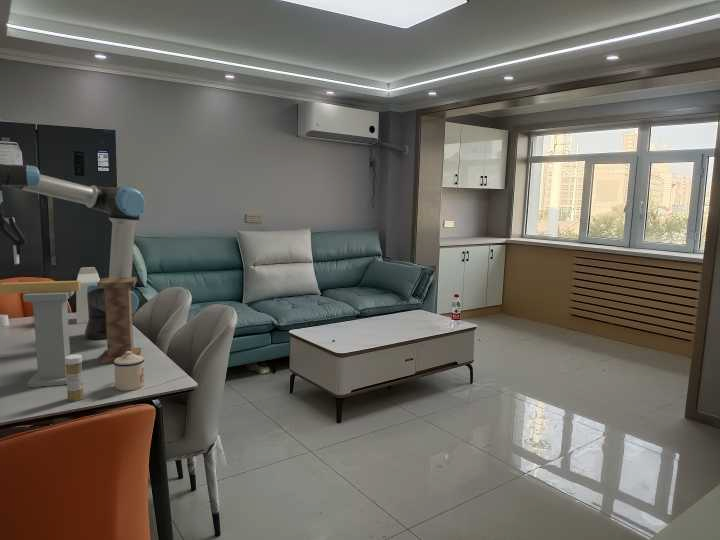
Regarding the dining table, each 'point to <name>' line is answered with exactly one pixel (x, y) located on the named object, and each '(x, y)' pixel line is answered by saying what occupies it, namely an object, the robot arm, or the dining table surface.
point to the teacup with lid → (129, 372)
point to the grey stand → (50, 337)
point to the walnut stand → (118, 317)
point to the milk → (84, 292)
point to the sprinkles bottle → (74, 377)
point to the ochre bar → (40, 287)
